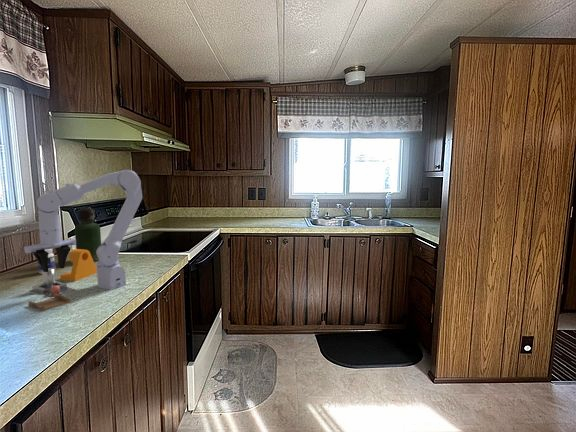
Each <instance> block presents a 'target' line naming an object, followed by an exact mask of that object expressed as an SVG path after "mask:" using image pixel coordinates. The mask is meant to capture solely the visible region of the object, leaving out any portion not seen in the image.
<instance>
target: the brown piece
mask: <svg viewBox="0 0 576 432" xmlns="http://www.w3.org/2000/svg"><path fill="white" fill-rule="evenodd" d="M53 296H54V297H52V298H51V297H50V298H49V299H48V298H47V299H45V300H42V301H38V302H35V301H33V300H32V301H28V302H27V303H28V304H27V305H28V307H31V308H32V309H34V310H37V311H40V312H45V311H48V310H51V309H54V308H58V307H60V306H64V305H67V304H69V303H71V298H70V297H67V296H64V295H63V294H62V295H59V294H55V295H53Z"/></svg>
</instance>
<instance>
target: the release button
mask: <svg viewBox="0 0 576 432" xmlns="http://www.w3.org/2000/svg"><path fill="white" fill-rule="evenodd" d="M55 294H61V292H60V286H59V285H56V286H52V287H51V294H50V295H52V296H54V295H55Z"/></svg>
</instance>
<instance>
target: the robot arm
mask: <svg viewBox="0 0 576 432" xmlns="http://www.w3.org/2000/svg"><path fill="white" fill-rule="evenodd" d="M109 185H110V186H119V187H120V188H121V189H122V190H123V192H124V194H125V195H126V198H125V201H124V203H123V205H122V207H121V208H120V211H119V212H118V215H117V217H116V219H115V221H114V222H113V226H112V227H111V229H110V231H109V233H108V235H107V236H106V238H105V239H104V240H103V242H102V243H101V245H100V246H99V247H98V248H97V251H96V255H97V257H98V258H99V260H98V261H97V263H96V268H97V273H96V275H97V277H96V278H97V287H98V288H100V289H106V290H108V291H109V290H110V291H112V290H115V289H119V288H122V287H125V286H126V285H127V283H126V282H127V280H126V270H125V268H124V267H123V266H121V265H120V260H119V259H120V258H119V256H120V254H119V253H120V250H121V248H122V247H121V246H122V241H123V239H124V237H125V235H126V234H127V231H128V229H129V227H130V225H131V223H132V221H133V219H134V217H135V214H136V213H137V210H138V208H139V206H140V204H141V203H142V200H143V190H142V181H141V178H140V177H139V176H138V174H137V172H135V171H134V170H130V169H121V170H119V171H115V172H111V173H106V174H103V175H102V176H98V177H96V178H93V179H92V180H90V181H86V182H84V183H82V184H77V183H69V182H68V183H65V186H63V187H61V188H58V189H51V190H49V193H44V194H41V195H40V196H39V197H38V198H37V200H36V207H37V208H38V211H37V213H38V217H37V219H38V229H39V238H40V239H39V241H40V243H36V244H31V245H28V246H27V245H26V246H24V247H23V249H24V253H25V254H33V256H34V257H35V258H36V259H37V262H38V261H39V263H40V265H41V267H42V270H43V272H48V252H46V251H45V250H47V249H52V250H53V249H55V252H56V256H57V265H58V268H60V269H64V268H65V266H66V262H67V258H68V256H69V254H70V252H71V251H72V250H71V246H76V239H74V238H71V239H62V228H61V216H60V215H59V207H65V206H68V205H70V204H72V203H74V202H77V201H79V200H82V199H83V198H84V196H85V194H88V193H90V192H93V191H95V190H98V189H100V188H103V187H105V186H109Z"/></svg>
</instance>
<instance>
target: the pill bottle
mask: <svg viewBox="0 0 576 432" xmlns="http://www.w3.org/2000/svg"><path fill="white" fill-rule="evenodd" d="M45 251H46V252H48V268H55V269H56V262H55V261H56V260H55V259H56V258H55V254H54V252H53V249H47V250H45ZM37 266H38V267H37V268H38V273H39V274H41V275H42V267H41V265H40V263H39V261H38V260H37Z"/></svg>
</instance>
